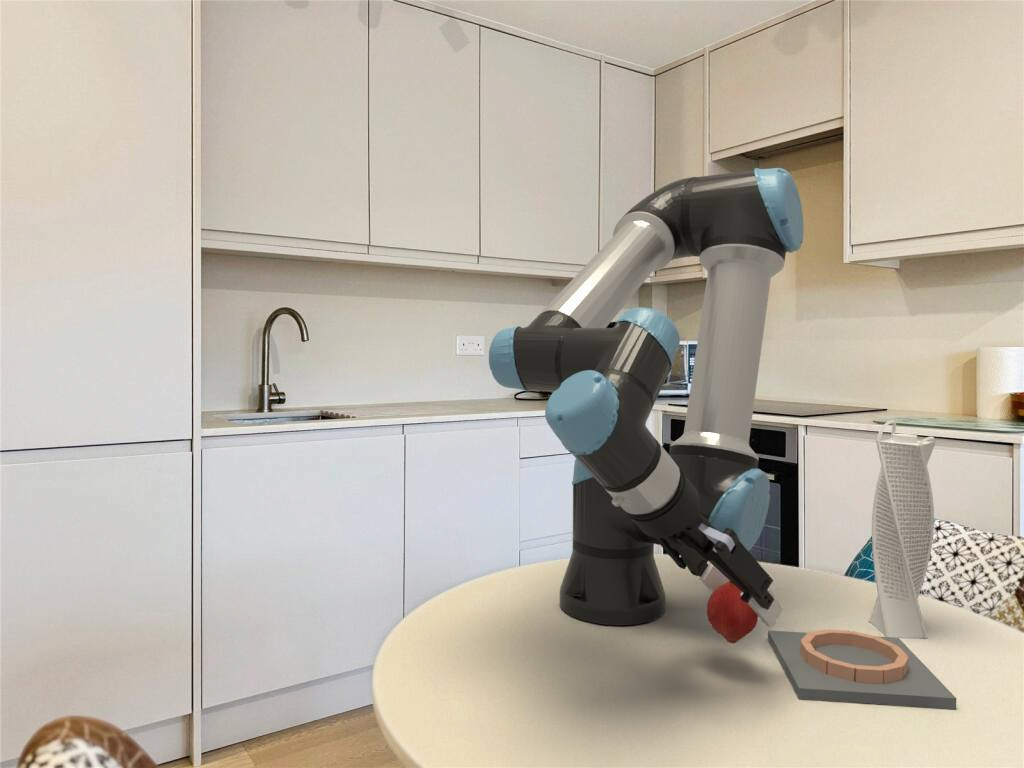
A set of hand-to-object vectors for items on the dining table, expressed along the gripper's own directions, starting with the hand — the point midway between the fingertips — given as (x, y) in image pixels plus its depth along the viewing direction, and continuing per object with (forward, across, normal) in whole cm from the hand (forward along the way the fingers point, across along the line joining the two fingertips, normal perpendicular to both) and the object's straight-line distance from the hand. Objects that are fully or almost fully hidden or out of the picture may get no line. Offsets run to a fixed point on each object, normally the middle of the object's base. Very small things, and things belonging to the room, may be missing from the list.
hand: (753, 608), depth 90 cm
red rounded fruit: (0, 0, -5) cm, 5 cm away
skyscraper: (+22, +3, +12) cm, 26 cm away
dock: (+10, +8, +1) cm, 13 cm away
